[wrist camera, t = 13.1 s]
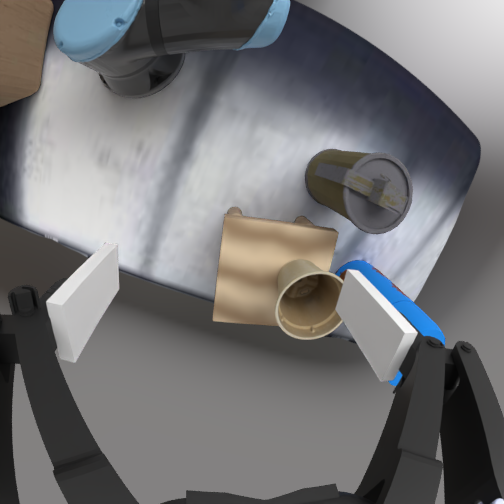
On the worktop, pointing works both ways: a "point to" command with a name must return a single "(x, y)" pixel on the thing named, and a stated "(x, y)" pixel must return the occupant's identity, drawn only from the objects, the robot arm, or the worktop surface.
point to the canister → (361, 187)
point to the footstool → (263, 263)
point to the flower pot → (307, 300)
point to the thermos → (395, 301)
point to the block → (22, 46)
